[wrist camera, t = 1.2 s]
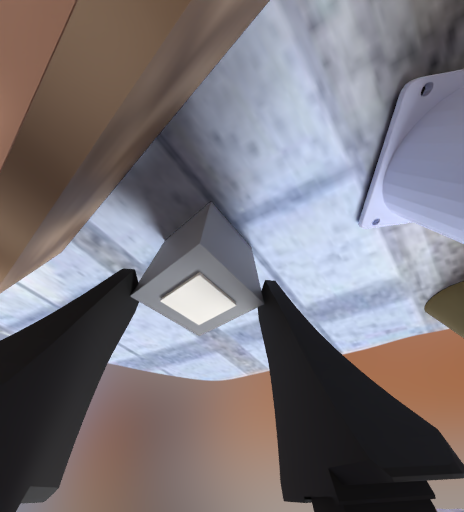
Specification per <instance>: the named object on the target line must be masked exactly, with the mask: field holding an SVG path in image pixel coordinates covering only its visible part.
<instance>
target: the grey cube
mask: <svg viewBox="0 0 464 512" xmlns="http://www.w3.org/2000/svg"><path fill="white" fill-rule="evenodd" d="M131 297H132V298H134V299H136V300H137V301H139V302H141V303H143V304H144V305H146V306H148V307H150V308H151V309H153V310H155V311H156V312H158V313H160V314H162V315H163V316H165V317H167V318H169V319H170V320H172V321H174V322H176V323H177V324H179V325H181V326H183V327H184V328H186V329H188V330H189V331H191V332H193V333H195V334H196V335H198V336H201V335H203V334H205V333H207V332H209V331H211V330H213V329H215V328H217V327H219V326H221V325H223V324H225V323H227V322H229V321H231V320H233V319H235V318H237V317H239V316H241V315H243V314H245V313H247V312H249V311H251V310H253V309H255V308H257V307H259V306H261V305H263V304H264V301H263V296H262V292H261V288H260V283H259V279H258V275H257V270H256V266H255V261H254V257H253V253H252V248H251V247H250V246H249V245H248V243H247V242H246V241H245V240H244V239H243V238H242V236H241V235H240V234H239V233H238V232H237V231H236V230H235V228H234V227H233V226H232V225H231V224H230V223H229V221H228V220H227V219H226V218H225V217H224V216H223V214H222V213H221V212H220V211H219V210H218V209H217V207H216V206H215V205H214V204H213V203H212V202H210V203H209V204H207V205H206V206H205V207H204V208H203V209H202V210H200V211H199V212H198V213H197V214H196V215H194V216H193V217H192V218H191V219H190V220H189V221H187V222H186V223H185V224H184V225H183V226H182V227H180V228H179V229H178V230H177V231H176V232H175V233H173V234H172V235H171V236H170V237H169V238H167V239H166V240H165V241H164V243H163V245H162V246H161V248H160V249H159V251H158V253H157V254H156V256H155V257H154V259H153V261H152V262H151V264H150V265H149V267H148V269H147V270H146V272H145V273H144V275H143V277H142V278H141V280H140V281H139V283H138V285H137V286H136V288H135V289H134V291H133V293H132V294H131Z"/></svg>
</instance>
